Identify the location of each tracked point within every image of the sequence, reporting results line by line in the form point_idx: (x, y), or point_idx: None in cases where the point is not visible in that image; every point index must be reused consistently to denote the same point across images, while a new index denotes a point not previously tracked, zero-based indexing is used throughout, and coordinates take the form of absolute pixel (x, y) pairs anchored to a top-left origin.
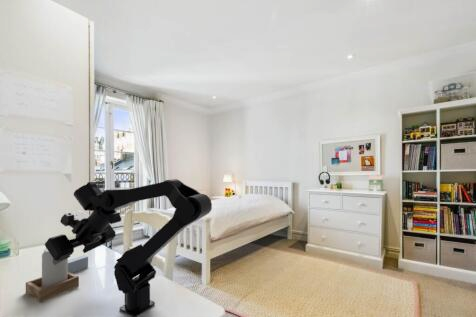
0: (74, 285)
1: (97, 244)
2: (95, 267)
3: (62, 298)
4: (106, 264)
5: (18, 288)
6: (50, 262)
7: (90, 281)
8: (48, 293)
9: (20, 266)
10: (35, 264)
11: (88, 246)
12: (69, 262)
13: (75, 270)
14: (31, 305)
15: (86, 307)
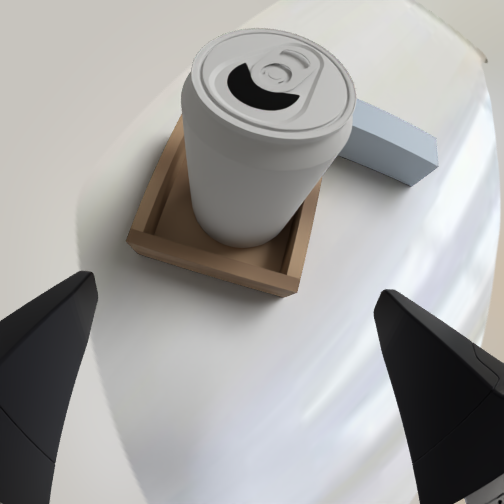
0: (268, 290)
1: (426, 472)
2: (422, 217)
3: (181, 319)
4: (450, 241)
5: None
6: (191, 157)
7: (333, 310)
8: (160, 256)
9: (317, 7)
10: (342, 26)
11: (414, 363)
12: (372, 131)
13: (372, 165)
14: (116, 239)
15: (160, 467)
